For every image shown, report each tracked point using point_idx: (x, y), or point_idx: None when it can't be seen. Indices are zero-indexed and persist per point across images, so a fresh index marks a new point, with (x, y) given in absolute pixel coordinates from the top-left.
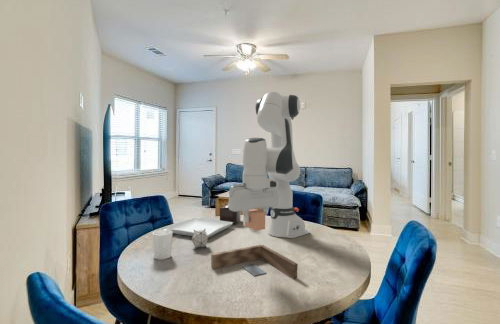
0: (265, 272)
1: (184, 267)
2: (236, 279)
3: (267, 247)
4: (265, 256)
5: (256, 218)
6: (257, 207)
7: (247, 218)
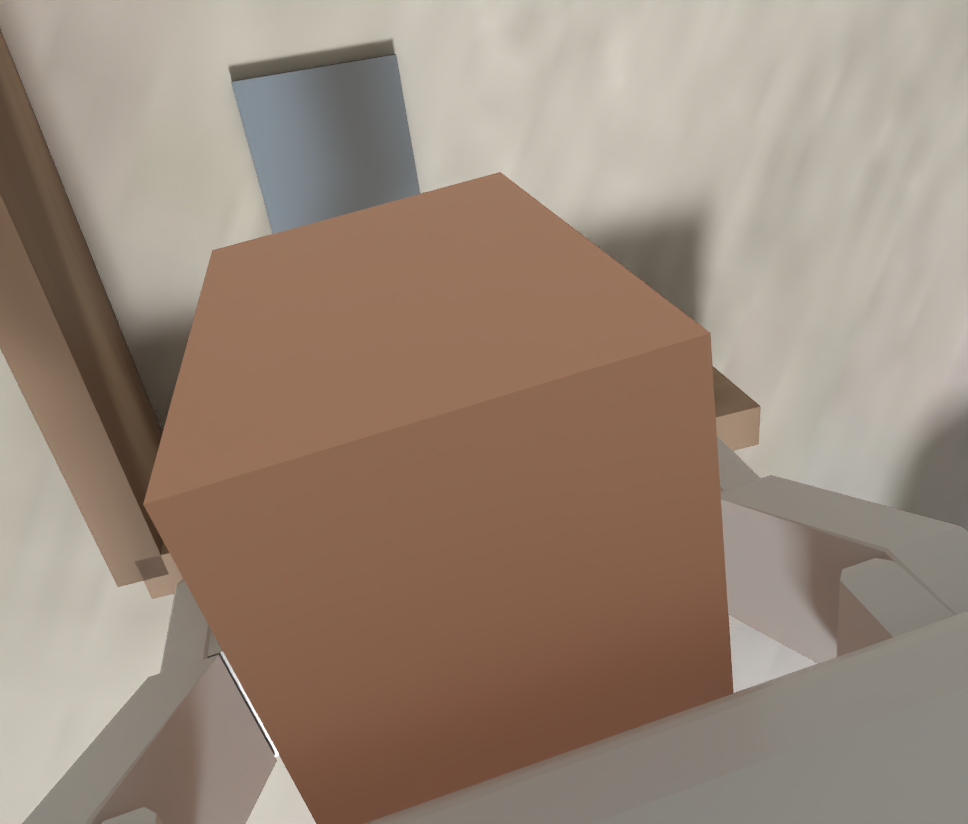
0: (240, 90)
1: (867, 428)
2: (589, 57)
3: (82, 503)
4: (138, 420)
5: (599, 267)
6: (539, 814)
7: (751, 469)
